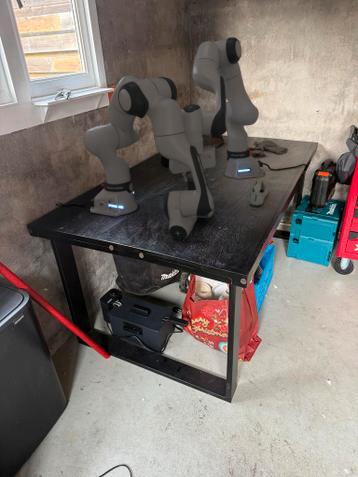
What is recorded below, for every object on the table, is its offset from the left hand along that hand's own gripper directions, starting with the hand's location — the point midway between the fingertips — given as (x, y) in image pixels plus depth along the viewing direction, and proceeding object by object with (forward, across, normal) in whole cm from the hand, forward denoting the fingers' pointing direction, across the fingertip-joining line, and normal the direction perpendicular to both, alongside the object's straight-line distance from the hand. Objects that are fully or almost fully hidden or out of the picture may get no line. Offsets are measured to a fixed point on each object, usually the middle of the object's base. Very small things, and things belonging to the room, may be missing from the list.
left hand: (194, 201), depth 148 cm
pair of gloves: (+100, -25, +5) cm, 103 cm away
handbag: (+71, +28, +5) cm, 77 cm away
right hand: (-1, 0, -10) cm, 10 cm away
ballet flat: (+20, -28, +5) cm, 35 cm away
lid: (-1, 0, -12) cm, 12 cm away
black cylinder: (-1, 0, +5) cm, 5 cm away
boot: (+119, +7, +5) cm, 119 cm away
